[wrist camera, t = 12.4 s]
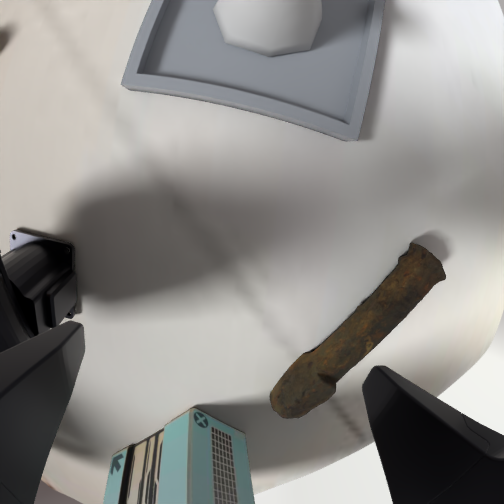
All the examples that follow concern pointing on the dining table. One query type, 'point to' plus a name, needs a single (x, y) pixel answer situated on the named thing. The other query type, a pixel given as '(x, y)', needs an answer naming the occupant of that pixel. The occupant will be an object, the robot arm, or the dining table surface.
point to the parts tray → (262, 65)
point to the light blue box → (183, 465)
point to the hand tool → (356, 335)
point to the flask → (269, 24)
